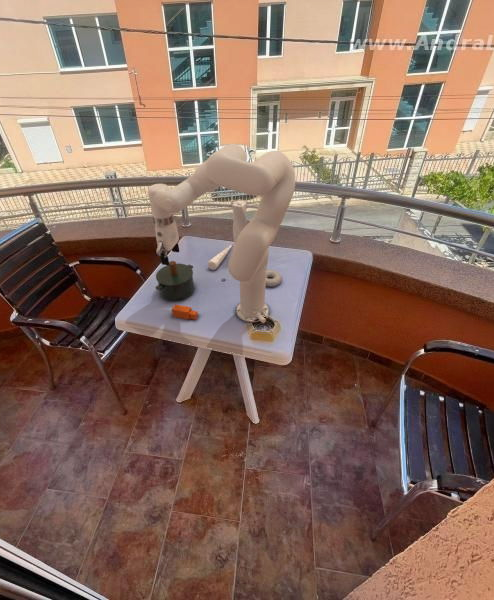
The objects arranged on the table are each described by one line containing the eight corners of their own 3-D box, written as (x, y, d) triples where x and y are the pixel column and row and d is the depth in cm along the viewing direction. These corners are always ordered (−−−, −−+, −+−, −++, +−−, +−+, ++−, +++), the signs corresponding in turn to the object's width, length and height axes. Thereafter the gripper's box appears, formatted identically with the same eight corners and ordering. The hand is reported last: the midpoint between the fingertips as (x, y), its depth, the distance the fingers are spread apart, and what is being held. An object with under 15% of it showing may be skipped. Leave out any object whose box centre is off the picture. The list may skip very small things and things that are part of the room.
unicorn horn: (238, 247, 165) (238, 238, 162) (216, 271, 150) (215, 263, 146) (230, 245, 167) (230, 237, 164) (207, 269, 151) (206, 260, 148)
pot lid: (200, 273, 135) (199, 260, 131) (174, 292, 127) (171, 278, 122) (175, 261, 143) (172, 249, 139) (148, 278, 134) (145, 265, 130)
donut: (280, 289, 137) (282, 275, 144) (281, 283, 135) (283, 269, 142) (257, 287, 139) (260, 273, 146) (257, 281, 137) (260, 267, 144)
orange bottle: (198, 315, 127) (197, 308, 125) (195, 320, 125) (194, 313, 122) (174, 310, 130) (173, 303, 127) (171, 316, 127) (169, 309, 125)
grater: (234, 257, 157) (232, 203, 139) (231, 250, 163) (228, 196, 145) (250, 254, 159) (250, 200, 141) (245, 247, 164) (245, 194, 146)
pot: (205, 284, 142) (203, 269, 137) (172, 309, 131) (169, 293, 125) (181, 274, 149) (179, 258, 144) (149, 296, 138) (145, 280, 133)
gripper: (162, 231, 111) (170, 271, 122) (182, 210, 123) (187, 248, 135) (143, 228, 113) (152, 268, 124) (164, 208, 125) (171, 246, 137)
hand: (170, 257), depth 129 cm, fingers open, 9 cm apart
